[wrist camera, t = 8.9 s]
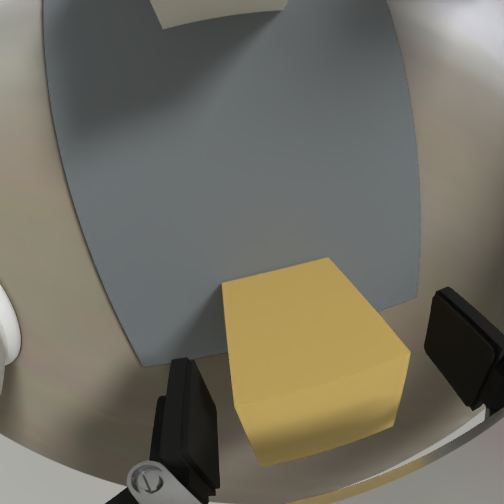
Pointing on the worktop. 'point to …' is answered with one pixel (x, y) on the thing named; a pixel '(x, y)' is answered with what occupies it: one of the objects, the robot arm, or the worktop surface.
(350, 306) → the stub
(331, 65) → the mat
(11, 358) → the jar
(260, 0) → the ticket
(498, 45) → the worktop surface
